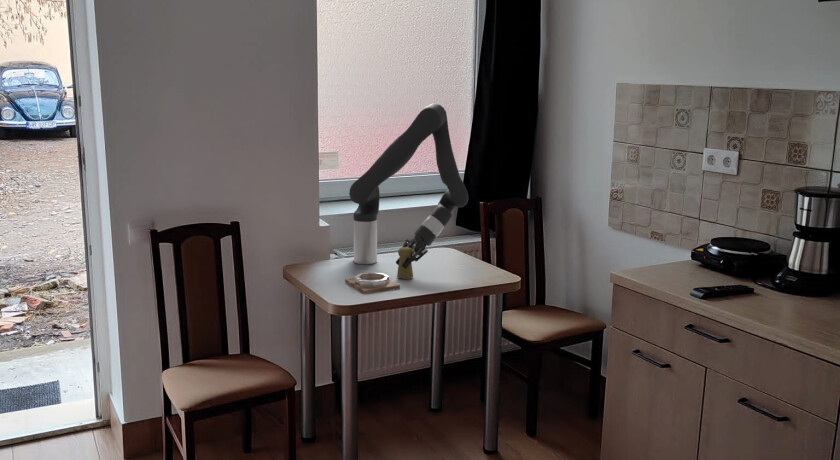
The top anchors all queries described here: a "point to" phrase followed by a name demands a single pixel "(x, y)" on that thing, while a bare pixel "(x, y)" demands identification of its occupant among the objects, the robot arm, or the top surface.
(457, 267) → the top surface
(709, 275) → the top surface
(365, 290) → the walnut board
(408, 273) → the olive chess piece
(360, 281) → the metal collar
